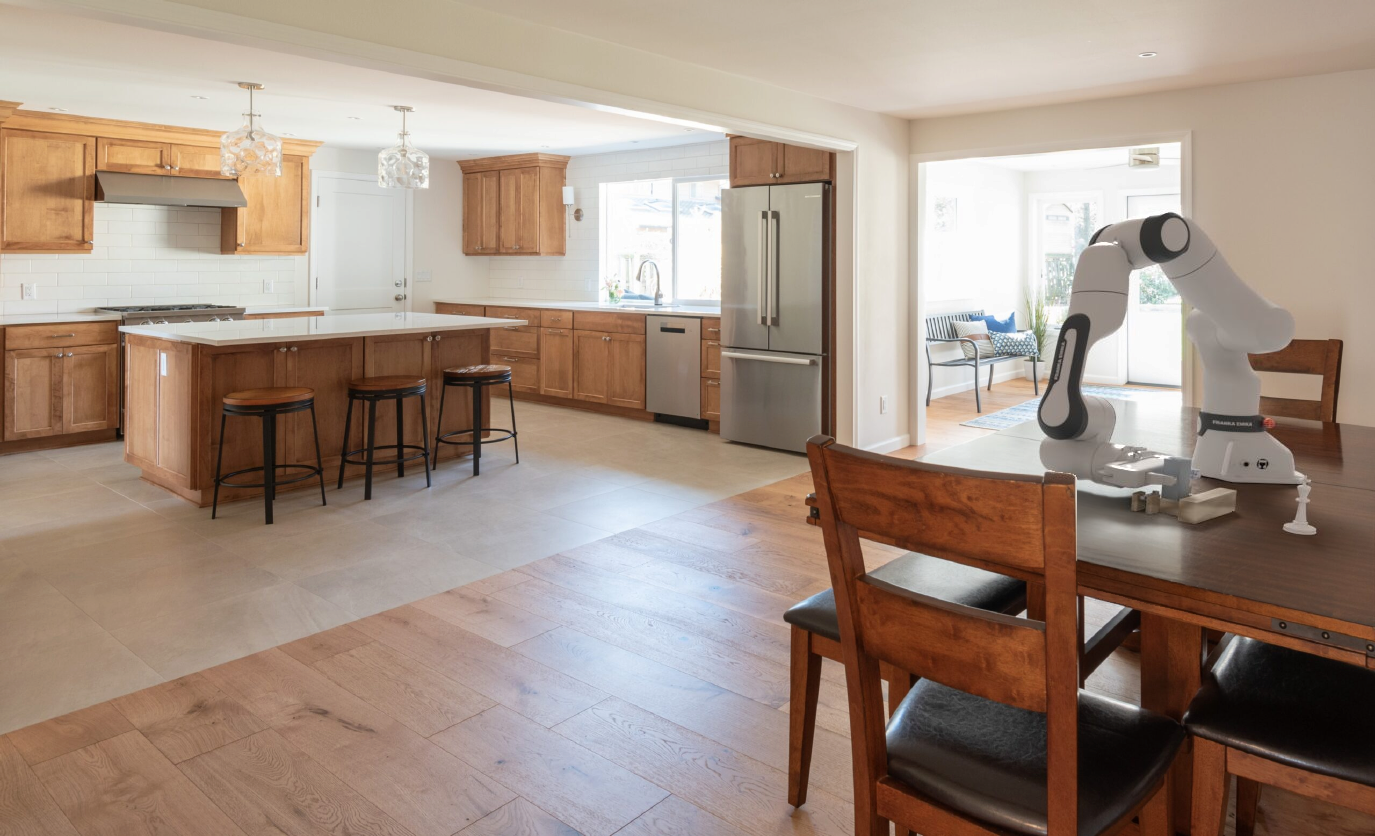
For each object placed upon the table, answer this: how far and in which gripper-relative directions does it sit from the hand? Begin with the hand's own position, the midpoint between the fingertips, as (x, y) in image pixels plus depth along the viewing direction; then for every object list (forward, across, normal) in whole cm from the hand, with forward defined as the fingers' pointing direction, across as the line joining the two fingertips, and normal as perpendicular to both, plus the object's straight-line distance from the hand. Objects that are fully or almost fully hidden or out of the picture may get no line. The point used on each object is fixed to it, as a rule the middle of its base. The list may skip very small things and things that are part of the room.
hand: (1187, 478), depth 169 cm
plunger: (-4, -5, +4) cm, 8 cm away
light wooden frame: (-1, 0, +6) cm, 7 cm away
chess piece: (+18, +3, +7) cm, 20 cm away
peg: (-2, 0, +6) cm, 7 cm away
